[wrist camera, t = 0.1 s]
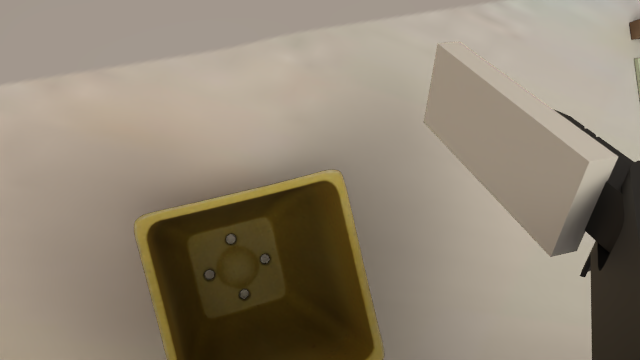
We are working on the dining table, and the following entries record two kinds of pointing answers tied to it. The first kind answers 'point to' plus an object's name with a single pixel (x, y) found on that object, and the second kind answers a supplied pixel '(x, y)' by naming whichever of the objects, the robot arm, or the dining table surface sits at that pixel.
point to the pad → (638, 72)
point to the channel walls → (635, 29)
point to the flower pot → (261, 275)
